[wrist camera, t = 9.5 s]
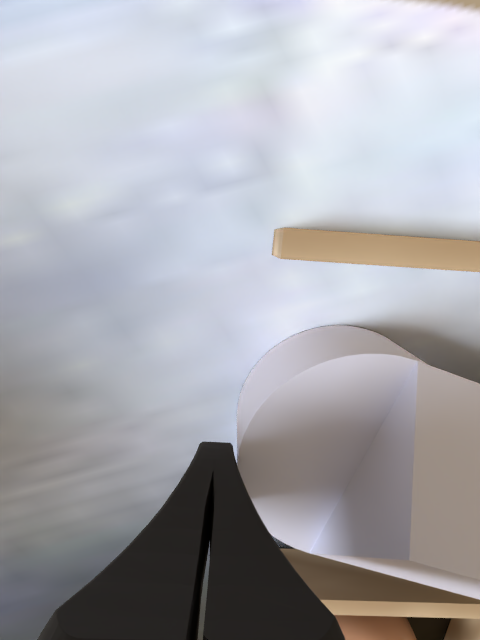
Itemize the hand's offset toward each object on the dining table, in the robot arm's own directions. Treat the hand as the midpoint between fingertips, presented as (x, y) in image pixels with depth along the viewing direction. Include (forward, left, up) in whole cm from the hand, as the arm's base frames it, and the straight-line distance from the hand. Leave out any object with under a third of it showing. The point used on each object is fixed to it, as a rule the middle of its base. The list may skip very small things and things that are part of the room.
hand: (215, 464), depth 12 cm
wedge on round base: (0, -7, -3) cm, 8 cm away
